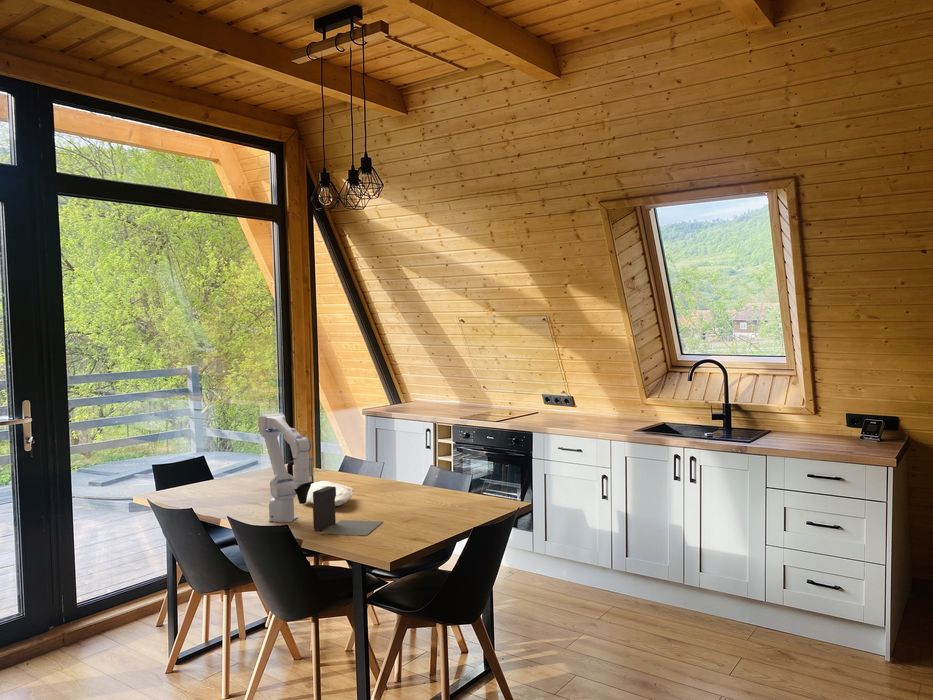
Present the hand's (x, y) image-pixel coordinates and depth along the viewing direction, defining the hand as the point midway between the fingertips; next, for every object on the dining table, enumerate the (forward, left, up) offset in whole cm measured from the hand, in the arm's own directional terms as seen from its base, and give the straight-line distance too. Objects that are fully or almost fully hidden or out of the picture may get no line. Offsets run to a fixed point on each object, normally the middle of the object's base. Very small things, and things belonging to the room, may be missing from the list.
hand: (302, 503), depth 290 cm
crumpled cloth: (-4, +39, -9) cm, 40 cm away
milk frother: (-32, +65, -9) cm, 73 cm away
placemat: (+20, 0, -9) cm, 22 cm away
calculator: (+9, 0, -9) cm, 13 cm away
